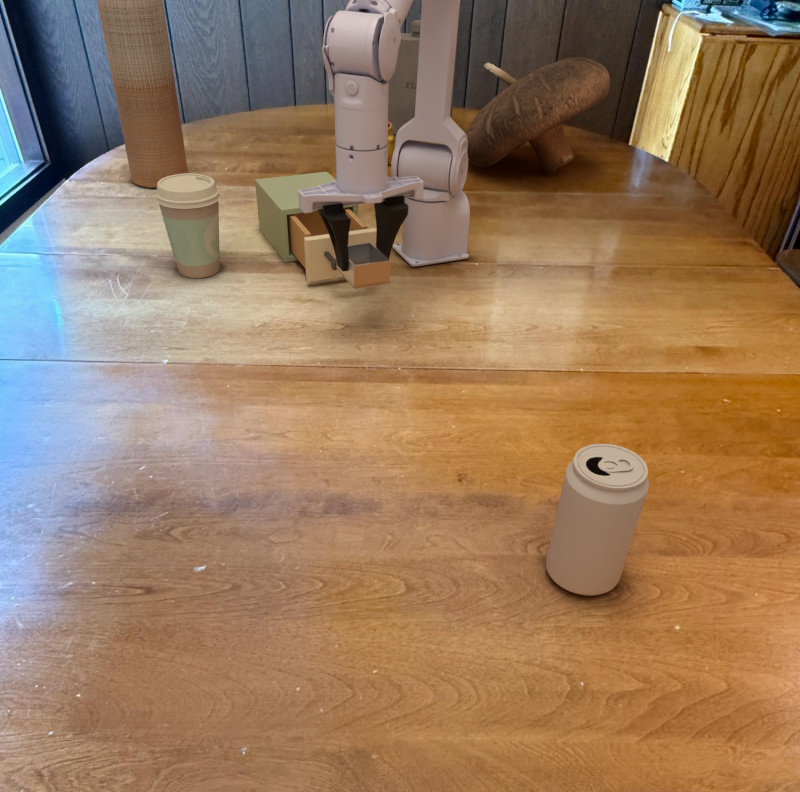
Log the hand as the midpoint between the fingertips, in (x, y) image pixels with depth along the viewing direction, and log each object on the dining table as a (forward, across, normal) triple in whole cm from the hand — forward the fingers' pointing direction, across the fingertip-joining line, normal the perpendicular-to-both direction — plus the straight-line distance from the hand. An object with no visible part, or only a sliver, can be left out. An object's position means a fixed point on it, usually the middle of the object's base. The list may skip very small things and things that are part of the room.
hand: (362, 264), depth 93 cm
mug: (+9, +29, +65) cm, 71 cm away
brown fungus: (+9, +54, +49) cm, 73 cm away
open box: (+1, 0, 0) cm, 1 cm away
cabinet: (+8, +3, +30) cm, 31 cm away
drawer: (+8, +3, +18) cm, 19 cm away
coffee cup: (+9, -15, +25) cm, 30 cm away
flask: (+9, +43, +78) cm, 89 cm away
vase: (+9, -13, +65) cm, 67 cm away
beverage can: (+9, +1, -48) cm, 49 cm away
